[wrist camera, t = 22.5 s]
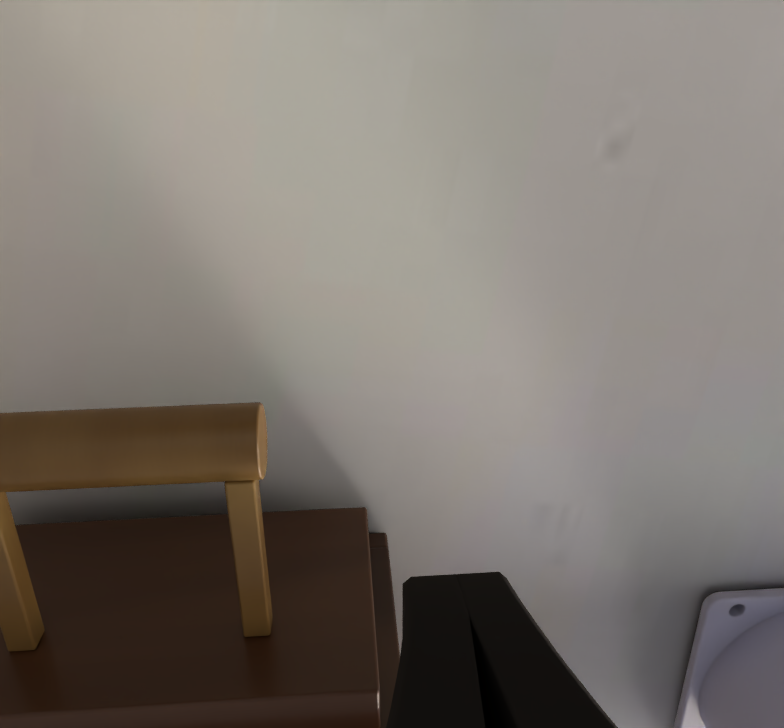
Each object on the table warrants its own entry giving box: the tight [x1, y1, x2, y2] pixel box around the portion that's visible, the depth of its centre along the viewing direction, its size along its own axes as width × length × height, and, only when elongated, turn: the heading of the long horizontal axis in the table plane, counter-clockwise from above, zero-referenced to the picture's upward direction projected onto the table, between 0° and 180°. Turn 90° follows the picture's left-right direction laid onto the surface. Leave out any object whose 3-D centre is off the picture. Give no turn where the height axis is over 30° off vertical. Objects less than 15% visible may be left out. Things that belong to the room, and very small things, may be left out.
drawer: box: [0, 402, 381, 728], centre depth 18 cm, size 18×10×6 cm, turn 0°
